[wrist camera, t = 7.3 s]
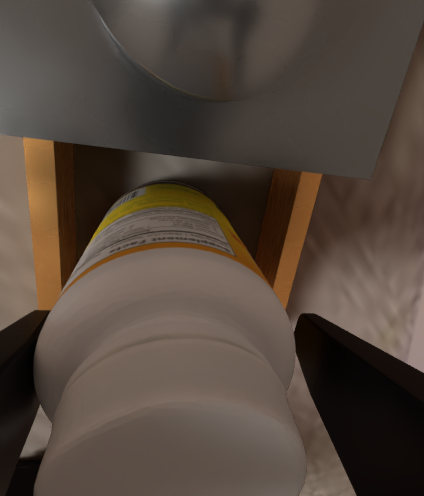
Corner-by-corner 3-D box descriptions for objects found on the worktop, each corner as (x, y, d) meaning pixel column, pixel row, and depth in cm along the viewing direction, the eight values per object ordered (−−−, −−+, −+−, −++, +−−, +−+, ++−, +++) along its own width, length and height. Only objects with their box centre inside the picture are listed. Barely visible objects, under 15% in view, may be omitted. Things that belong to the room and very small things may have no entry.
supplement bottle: (216, 297, 15) (300, 580, 6) (99, 288, 14) (-21, 622, 5) (240, 187, 13) (424, 358, 4) (105, 166, 12) (-84, 338, 3)
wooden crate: (275, 328, 17) (327, 420, 12) (32, 328, 14) (-33, 446, 9) (393, -118, 10) (634, -348, 5) (-29, -277, 7) (-403, -1084, 2)
